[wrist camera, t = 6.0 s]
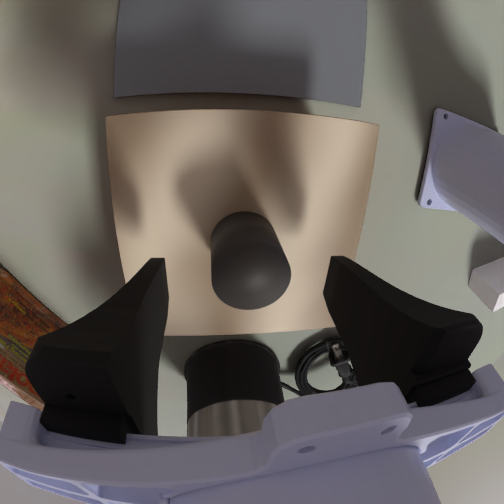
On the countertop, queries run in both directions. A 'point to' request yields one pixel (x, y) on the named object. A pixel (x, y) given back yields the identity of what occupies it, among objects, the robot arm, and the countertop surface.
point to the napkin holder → (489, 283)
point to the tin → (21, 335)
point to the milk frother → (248, 384)
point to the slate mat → (242, 48)
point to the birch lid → (239, 211)
